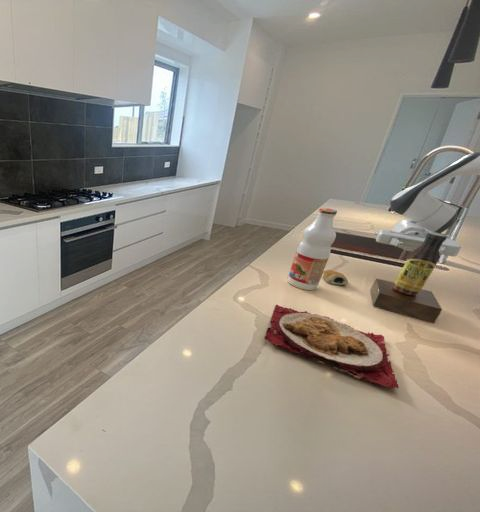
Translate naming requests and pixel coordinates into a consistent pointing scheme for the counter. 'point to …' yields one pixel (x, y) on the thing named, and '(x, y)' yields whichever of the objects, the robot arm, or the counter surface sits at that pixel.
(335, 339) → the plate with food
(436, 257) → the sauce bottle
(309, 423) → the counter surface
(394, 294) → the riser
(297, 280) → the fruit juice
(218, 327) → the counter surface
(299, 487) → the counter surface
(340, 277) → the pastry
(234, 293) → the counter surface
